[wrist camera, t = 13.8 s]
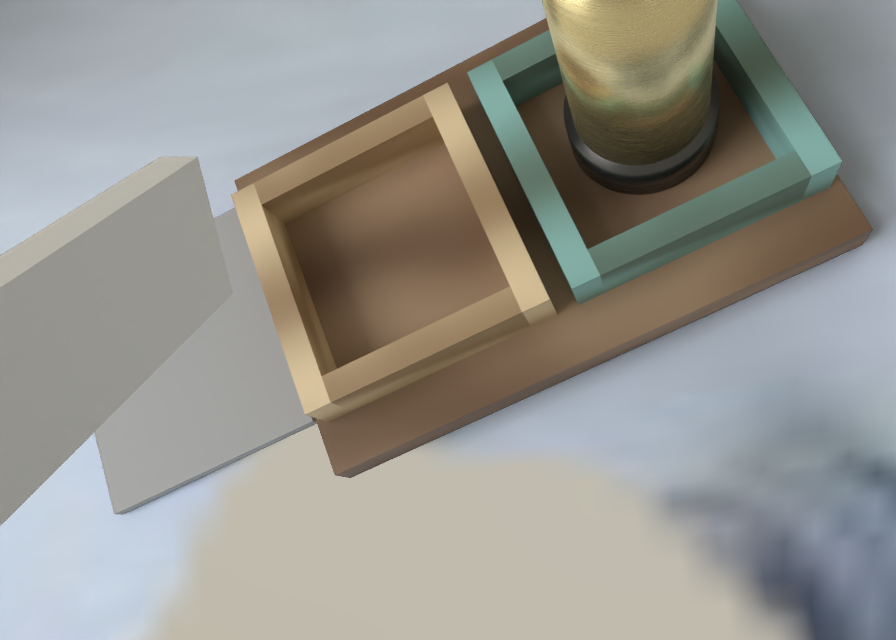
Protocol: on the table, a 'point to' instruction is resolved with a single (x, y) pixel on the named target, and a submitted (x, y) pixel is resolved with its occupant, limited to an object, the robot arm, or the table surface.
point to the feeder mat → (205, 394)
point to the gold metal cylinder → (637, 88)
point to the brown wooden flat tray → (519, 240)
